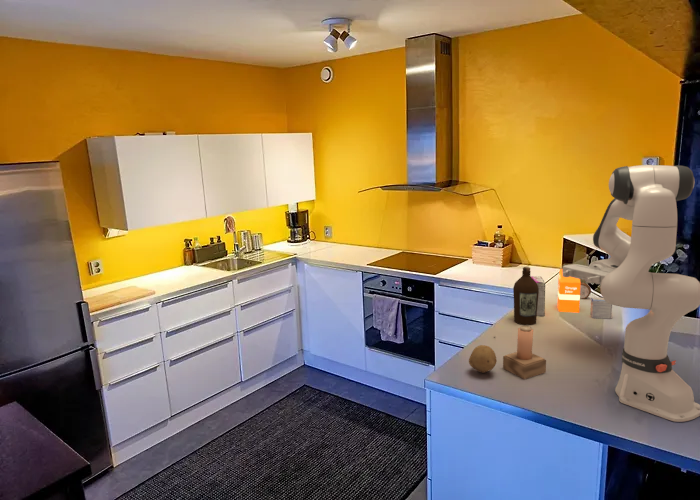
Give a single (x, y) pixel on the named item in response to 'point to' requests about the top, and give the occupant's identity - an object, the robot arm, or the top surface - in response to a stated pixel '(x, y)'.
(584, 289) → the tin
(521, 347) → the terracotta jar
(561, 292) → the orange juice
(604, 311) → the medicine box
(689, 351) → the top surface
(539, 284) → the candy bar box
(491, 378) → the top surface
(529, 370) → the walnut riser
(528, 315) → the olive oil
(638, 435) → the top surface
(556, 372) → the top surface
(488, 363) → the natural sponge
